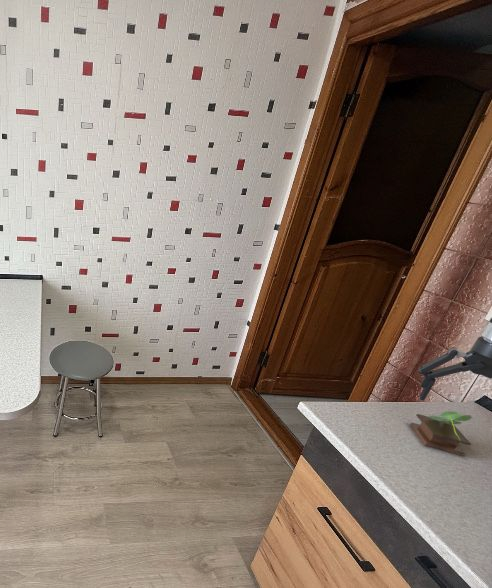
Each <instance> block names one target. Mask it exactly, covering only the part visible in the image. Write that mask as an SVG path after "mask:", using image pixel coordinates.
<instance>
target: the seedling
mask: <svg viewBox="0 0 492 588" xmlns="http://www.w3.org/2000/svg"><path fill="white" fill-rule="evenodd" d="M428 417H430V418H431V419H434V420H437V421H446V422H444V423H446V424H453V427H454V425H461V424H463V422H466V421H470V420H471V419H472V416H471V415H469V414H464V415H463V414H461V413H459V412H457V411H449V410H448V411H444V412H441V413H440V415H439V416H438V415H429V416H428ZM454 431H455V427H454ZM455 434H456V435H457V433H456V431H455ZM457 436H458V435H457ZM458 438H459V436H458ZM459 440H460V438H459ZM460 441H461V440H460Z"/></svg>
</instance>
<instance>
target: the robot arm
mask: <svg viewBox="0 0 492 588" xmlns="http://www.w3.org/2000/svg"><path fill="white" fill-rule="evenodd" d="M480 335H481V336H478V337H477V338H476V340H475V342H474V344H473V345H472V347H471V348H470V350H469V351H467V352H465V351H462V350H459V349H458V348H457V347H455V346H451V347H450V348H449V349H448V350H447V351H446V352H445V353H443V354H441V355H439V356H438V357H435V358H434V359H432V360H430V361H428V362H427V363H425V364H422V365H420V366H419V367H418V373H419V374H420V375H422V376H424V377H423V379H422V380H421V382H420V387H421V388H423V389H422V391H421V392H420V394H419V400H420V401H423V402H425V400H426V398H427V397H428V395H429V393H430V391H431V389H432V387H433V386H434V385H435V383H436V379H439V378H441V377H446V376H450V375H454V374H458V373H466V372H472V374H475V375H478V376H483V377H485V378H487V379H490V380H491V379H492V316H491V317H490V318H489V321H487V323H486V325H485V326H484V328H483V330H482V331H481V332H480ZM459 358H463V359H464V360H463V361H461V362H457V363H456V364H451V365H448V366H444V367H441V366H443V365H444V364H447V363H449V362H450V361H452V360H453V359H459ZM439 367H441V368H439Z"/></svg>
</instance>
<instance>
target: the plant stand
mask: <svg viewBox="0 0 492 588" xmlns="http://www.w3.org/2000/svg"><path fill="white" fill-rule="evenodd" d="M416 417H417V418H418V419H419V421H420V423H416V422H410V424H409V427H410V428H411V429H412V431H413V432H414V433H415V435H416V437H417V438H419V440H420V442H421V443H422V444H423V446H425V447H427V448H428V447H429V448H430V449H431V448H432V449H435V450H439V451H443V452H446V453H449V454H453V455H457V456H461V457H463V455H464V454H465V452H464V450H462V448H461V447H460V446H459V444H464V445H467V446H471V445H472V443H471V441H469V439H467V437H466V436H465V435H464V434H463V433H462V432H461V431H460V430H459V428H458V427H457V426H456V424H454V427H455V431H456V433H457V435H458V436H459V438H460V440H461V441H460V440H459V438H458V436H457V435H456V434H455V431H454V427H453V424H446V423H444V422H446V421H437V420H434V419H431V418H430V417H429V416H428V415H425V414H421V413H416Z"/></svg>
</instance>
